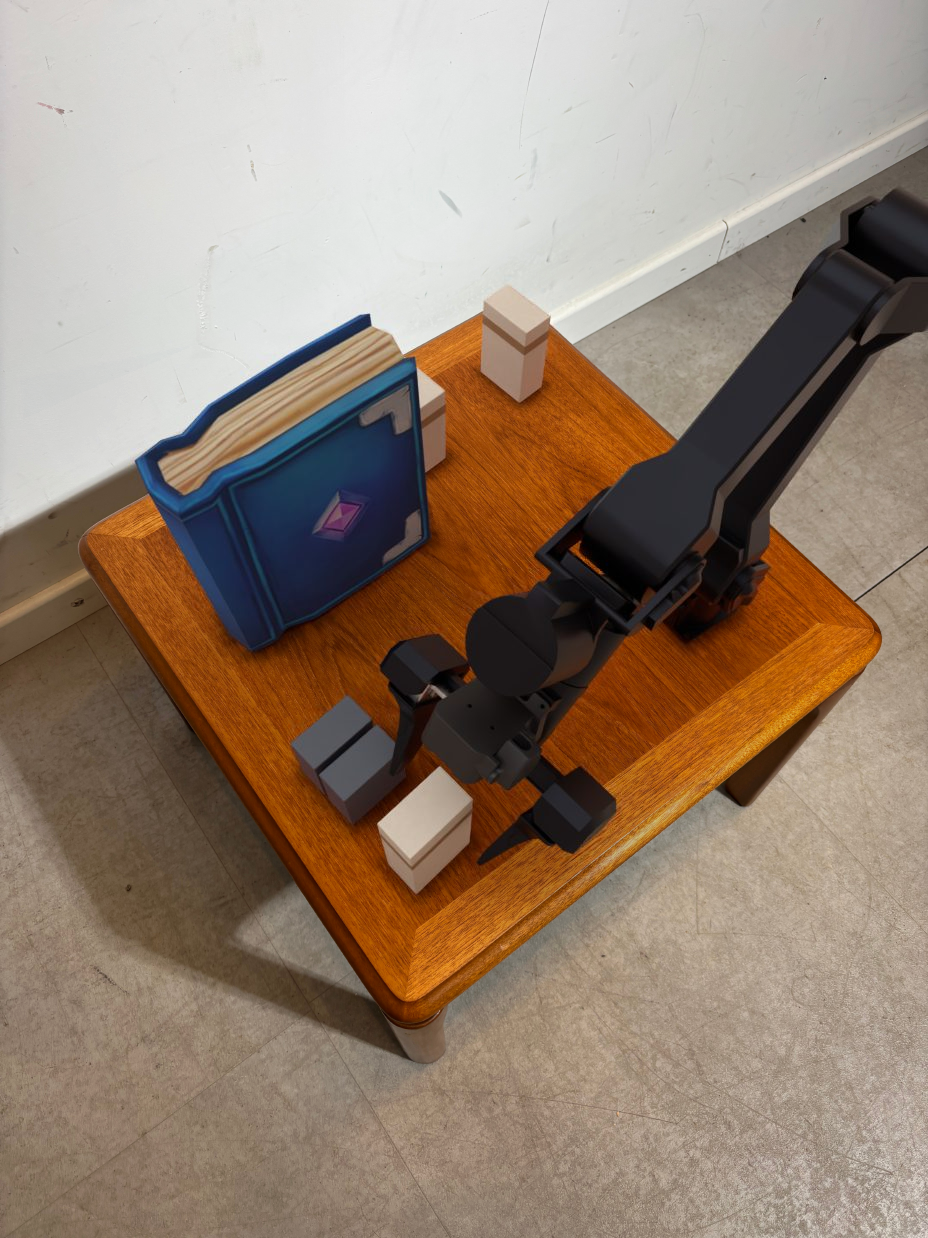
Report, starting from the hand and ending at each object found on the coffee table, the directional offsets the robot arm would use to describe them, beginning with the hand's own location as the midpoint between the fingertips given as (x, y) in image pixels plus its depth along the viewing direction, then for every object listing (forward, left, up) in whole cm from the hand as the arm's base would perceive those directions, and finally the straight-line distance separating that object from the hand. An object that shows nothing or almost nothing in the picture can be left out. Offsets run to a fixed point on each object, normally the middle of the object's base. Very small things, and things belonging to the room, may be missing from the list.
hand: (436, 817), depth 66 cm
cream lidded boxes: (-27, -36, -8) cm, 46 cm away
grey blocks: (+3, -9, -8) cm, 13 cm away
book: (-5, -27, -9) cm, 29 cm away
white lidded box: (+1, 0, -8) cm, 9 cm away
